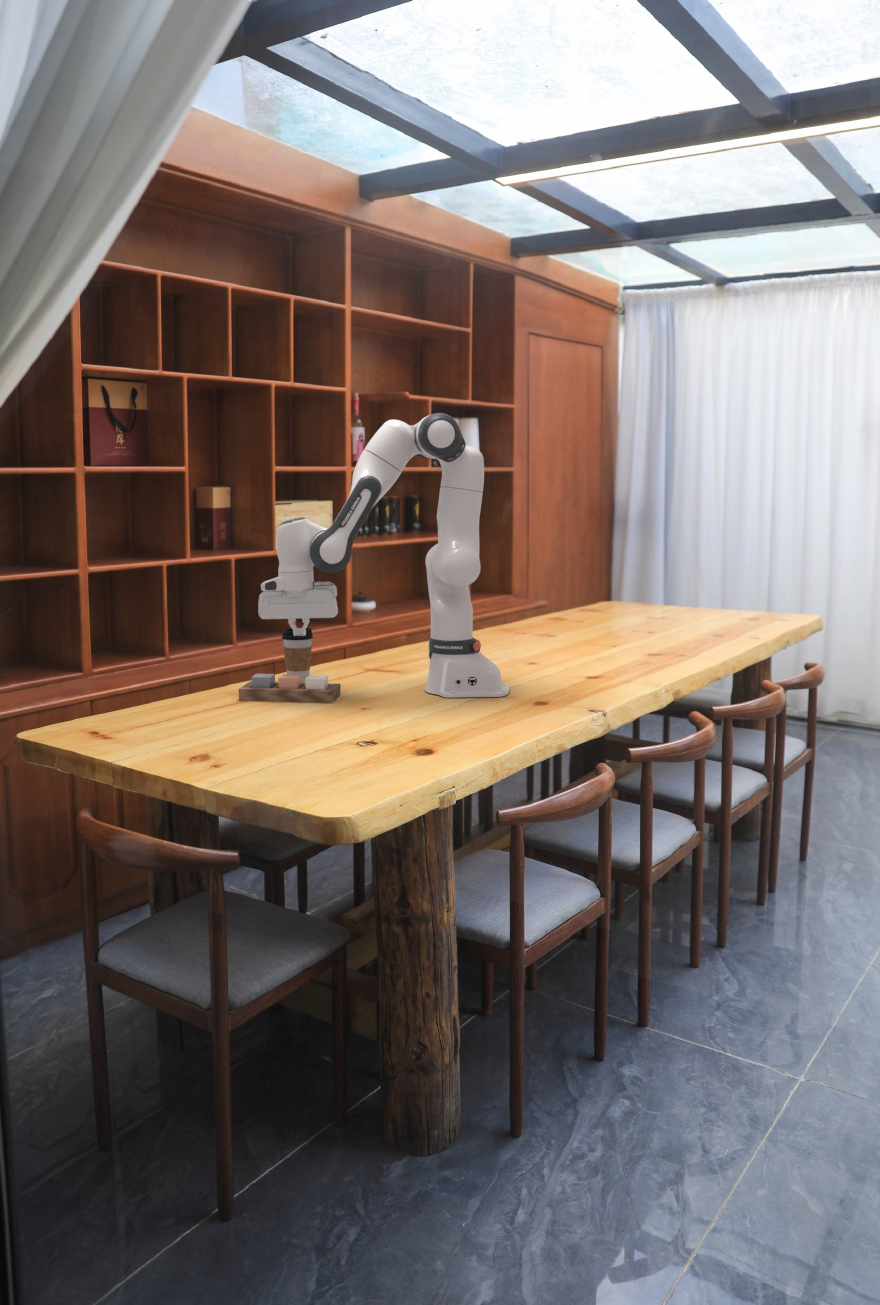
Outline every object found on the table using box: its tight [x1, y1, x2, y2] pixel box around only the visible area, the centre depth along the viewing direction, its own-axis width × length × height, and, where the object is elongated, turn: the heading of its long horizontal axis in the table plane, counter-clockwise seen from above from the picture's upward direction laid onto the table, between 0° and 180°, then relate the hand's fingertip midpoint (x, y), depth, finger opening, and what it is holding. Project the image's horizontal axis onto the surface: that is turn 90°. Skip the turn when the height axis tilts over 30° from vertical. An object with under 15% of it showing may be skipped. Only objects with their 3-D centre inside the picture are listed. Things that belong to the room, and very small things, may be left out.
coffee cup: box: [281, 627, 314, 683], centre depth 279 cm, size 8×8×15 cm
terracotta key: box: [277, 673, 302, 689], centre depth 260 cm, size 5×5×4 cm
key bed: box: [238, 680, 341, 704], centre depth 260 cm, size 24×10×3 cm, turn 84°
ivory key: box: [305, 674, 329, 690], centre depth 259 cm, size 5×5×4 cm
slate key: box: [250, 673, 276, 688], centre depth 261 cm, size 5×5×4 cm
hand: (299, 635), depth 262 cm, fingers closed
